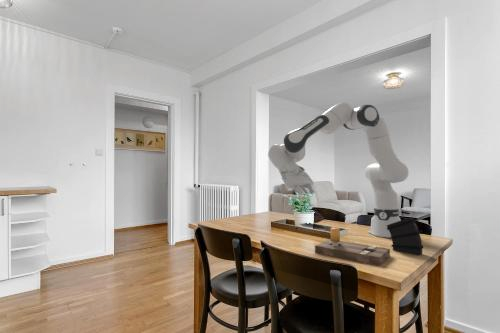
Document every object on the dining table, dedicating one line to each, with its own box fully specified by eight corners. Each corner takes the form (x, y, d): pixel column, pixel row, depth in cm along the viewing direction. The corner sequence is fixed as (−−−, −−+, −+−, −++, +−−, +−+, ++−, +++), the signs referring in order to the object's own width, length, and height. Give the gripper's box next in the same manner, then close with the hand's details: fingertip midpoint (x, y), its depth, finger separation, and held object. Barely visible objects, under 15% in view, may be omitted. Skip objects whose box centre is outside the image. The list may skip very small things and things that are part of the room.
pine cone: (327, 225, 177) (326, 209, 177) (320, 227, 169) (320, 211, 169) (301, 222, 188) (301, 207, 188) (294, 224, 180) (294, 209, 180)
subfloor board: (329, 245, 130) (329, 238, 130) (389, 256, 113) (389, 248, 113) (315, 252, 119) (315, 245, 119) (379, 265, 102) (379, 256, 102)
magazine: (428, 253, 111) (410, 217, 116) (397, 260, 120) (381, 226, 125) (431, 251, 114) (413, 216, 118) (400, 258, 122) (385, 225, 127)
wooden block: (333, 249, 123) (332, 226, 123) (341, 251, 121) (341, 228, 121) (329, 251, 120) (329, 228, 121) (337, 253, 118) (337, 229, 118)
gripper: (283, 166, 126) (301, 190, 119) (305, 167, 142) (322, 188, 135) (274, 176, 129) (292, 199, 122) (297, 176, 144) (313, 196, 138)
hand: (308, 193), depth 129 cm, fingers open, 8 cm apart
